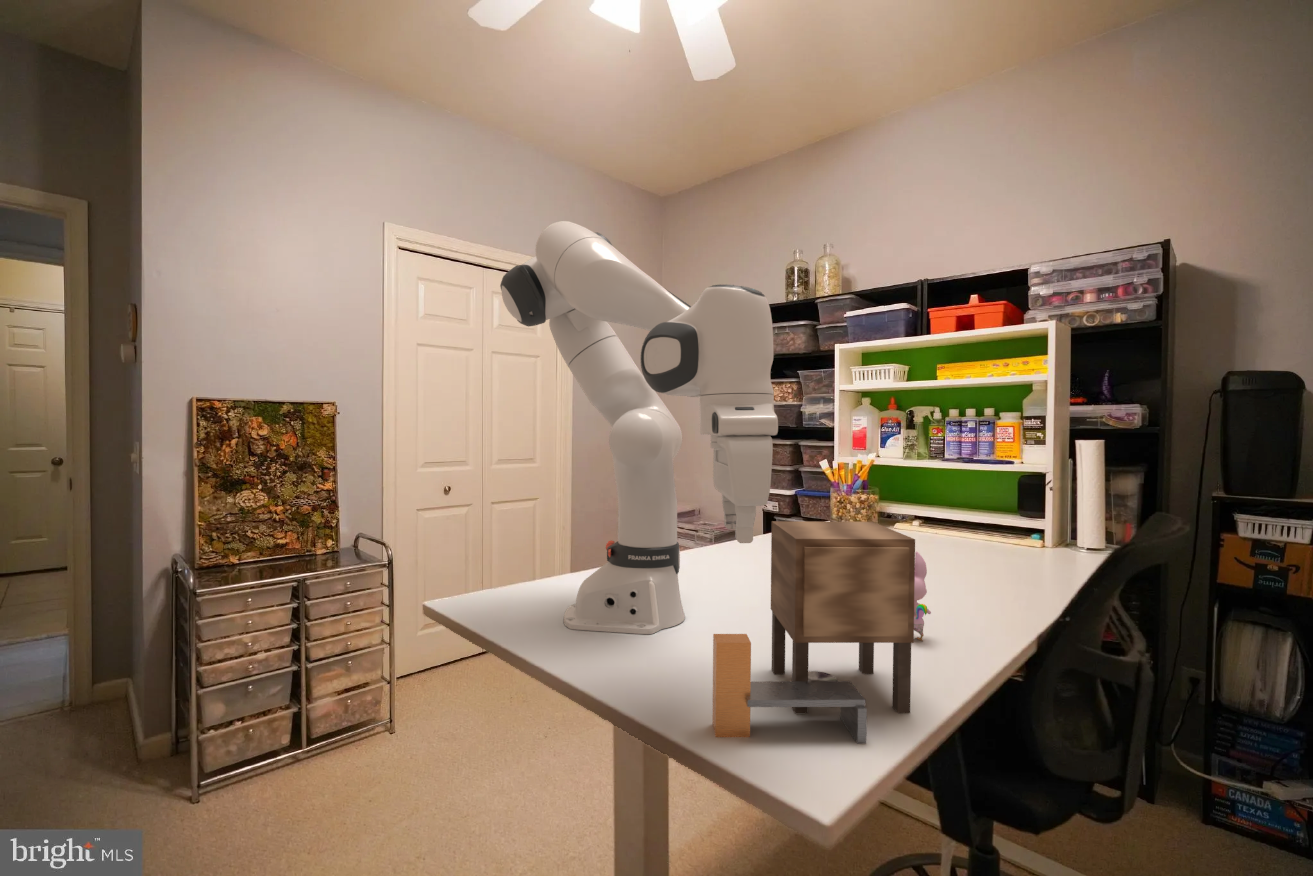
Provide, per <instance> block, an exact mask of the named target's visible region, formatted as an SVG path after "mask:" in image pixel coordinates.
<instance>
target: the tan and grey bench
mask: <svg viewBox="0 0 1313 876" xmlns="http://www.w3.org/2000/svg"><path fill="white" fill-rule="evenodd" d="M712 635H713V637H712V638H713V639H712V641H713V642H712V643H713V644H712V653H713V654H712V724H711V725H712V729H713V733H714V736H715V738H751V708H792V707H808V708H813V707H814V708H815V707H816V708H817V707H818V708H820V707H821V708H823V707H824V708H827V707H828V708H830V707H832V708H836V707H837V708H838V707H839V708H840V709H839V718H840V720H841V722H842V723H843V725H844V726H845V727H846V729H847V731H848V732H849V733H850V735H851V736H852V737H853V739H854V740H855V742H856V744H864V745H865V744H867V727H868V726H867V722H868V721H867V717H868V716H867V715H868V714H867V712H868V711H867V710H868V708H867V707H866V699H865V698H864V696H863V695H862V694H861V692H860V691H859V690H858V689H857V688H856V686H854V684H853V683H852V682H851V681H850V680H848V681H846V680H845V681H841V680H838V681H792V680H791V681H788V680H786V681H780V680H779V681H772V680H771V681H763V680H762V681H752V679H751V676H752V675H751V674H752V642H751V640H750V637H748V634H747V633H713V634H712Z"/></svg>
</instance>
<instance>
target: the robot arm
mask: <svg viewBox="0 0 1313 876" xmlns="http://www.w3.org/2000/svg"><path fill="white" fill-rule="evenodd" d="M499 287H500V291H501V297H502V301H503V304H504V306H505V308H506V309H507V311H508V312H509V314H510V315H511V316H512V317H513V318H515V320H517V322H518V323H519V324H521V325H524V326H526V327H528V328H529V327H534V326H539V325H542V324H545V323H546V321H548V320H549V322H548V323H549V324H548V325H549V331H550V333H551V335H552V338H553V340H554V342H555V343H554V344H555V345H556V347H557V348H558V351H559V354H560V355H561V357H562V359H563V361H564V362H565V364H566V366H567V367H568V369H569V371H570V372H571V374H572V375H573V377H574V379H575V380H576V382H577V384H579V386H580V389H582V391H583V393H584V394H585V396H586V398H587V399H588V401H589V403H591V405H592V406H594V407H595V409H597V411H598V412H599V413H600V414H601V416H602V417H603V418H604V419H605V420H606V421H607V423H608V424H609V425H610V427H611V428H610V432H609V436H608V437H609V438H608V443H609V450H610V451H611V454H612V456H611V457H612V463H613V474H614V480H615V481H614V482H615V485H616V494H617V507H618V508H617V509H618V510H617V524H618V525H617V527H618V528H617V541H615V540H613V539H612V540H611V539H610V540H608V541H607V543H606V544H605V549H606V561H607V562H606V563H604V564H603V565H602V566H600V568H598V569H597V570H595V571H594V572H593V573H591V574H590V575H589V576H588V577H587V578H585V579H584V580H583V581H582V583H581V584H580V587H579V589H578V590H577V596H576V599H575V603H574V604H571V605H570V606H569V607H568V608H567V609H566V610H565V612H564V614H563V615H564V616H563V624H564V626H565V627H566V628H568V629H569V630H575V631H576V630H578V631H591V632H607V633H618V634H619V633H622V634H635V635H636V634H639V635H652V634H653V635H654V634H655V633H657V632H659V631H661V630H664V629H668V628H672V627H675V626H678V625H680V624H682V623H683V622H684V621H685V620H686V615H685V611H684V608H683V607H684V606H683V603H682V598H681V593H680V591H681V590H680V584H679V573H680V572H679V571H680V567H681V565H680V564H681V549H680V544H679V542H678V497H677V493H676V491H677V490H676V483H675V482H676V481H675V472H674V467H675V466H674V459H675V458H676V456H678V454H679V452H680V450H681V449H682V445H683V433H682V428H681V427H680V424H679V423H678V421H677V420H676V419H675V417H674V415H673V414H672V413H671V411H670V410H669V409H668V407H667V406H666V404H665V403H664V401H663V400H662V398H661V397H660V396H659V394H660V393H661V394H663V395H667V396H672V397H674V396H676V397H690V398H699V434H700V435H710V448H711V449H713V461H712V462H713V463H712V464H713V467H712V468H713V470H712V472H713V473H712V475H713V477H712V480H713V486H714V489H715V490H717V491H718V492H719V493H720V494H721V502H722V503H721V504H722V509H723V525H724V527H725V528H726V529H727V530H734V532H735V536H734V537H735V539H736V541H737V542H738V543H739V544H751V543H752V542H753V541H754V526H755V520H756V516H757V507H761V506H766V505H767V503H768V500H769V498H770V497H769V496H770V492H771V483H772V467H773V450H774V449H773V447H774V446H773V438H772V437H771V436H777V435H778V432H779V420H778V419H779V418H778V415H777V414H776V412H775V402H774V401H775V398H774V397H775V396H774V395H775V391H774V388H773V384H772V381H771V369H772V365H773V361H774V329H773V319H772V312H771V307H770V304H769V300H768V299H767V296H766V295H765V294H763V292H761V291H760V290H758V289H756V288H752V287H748V286H744V285H735V284H727V283H726V284H723V283H721V284H720V283H719V284H713V285H711V286H708V287H706V288H705V289H704V290H703V291H702V292H701V294H700V296H699V298H698V299H697V301H696V302H694V304H693V305H690V304H689V303H687V302H686V301H684V300H683V299H681V298H680V297H678V296H677V295H675V294H674V293H673V292H671V291H669V290H668V289H666V288H665V287H664V286H662V285H661V284H660V283H658V282H657V281H656V280H655V279H654V278H652V277H651V276H650V275H649V274H647V273H645V271H643V270H642V269H640V267H638V266H637V265H636V264H635V263H633V262H632V261H631V260H630V259H628V258H627V257H626V256H625V255H624V254H622V252H620V251H619V250H618V249H616V248H615V247H614V245H613V244H612V243H611V241H610V240H609V239H608V238H607V237H606V236H605V235H604V234H602V233H600V232H595V231H592V230H590V229H589V228H587V227H585V226H583V225H580V224H578V223H575V222H572V221H568V220H562V221H555V222H553V223H551V224H549V225H548V226H547V227H545V228H544V230H542V231H541V233H540V234H539V235H538V238H537V241H536V244H535V256H532V257H531V258H530V259H528V260H527V261H524V262H523V263H521V264H520V265H519V264H518V265H515V266H513V267H511V269H510V270H508V271H507V272H506V273H505V274H504V275H503V277H502V279H501V282H500V286H499ZM609 323H614V324H620V325H623V326H624V325H625V326H630V327H632V328H633V327H634V328H639V329H641V330H642V329H643V330H645V331H648V333H647V334H646V336H645V339H644V340H643V343H642V347H641V350H640V368H639V367H638V366H637V365H636V363H635V362H634V359H633V358H632V356H631V355H630V353H629V352H628V350H627V348H626V347H625V346H624V344H623V343H622V341H621V339H620V338H619V335H617V333H616V332H615V331H614V329H613V327H612V326H611V325H610V324H609ZM640 369H641V370H640ZM658 393H659V394H658Z"/></svg>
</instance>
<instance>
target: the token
mask: <svg viewBox="0 0 1313 876" xmlns="http://www.w3.org/2000/svg"><path fill="white" fill-rule="evenodd" d="M808 681H839V679H837V677H836V676H834V675H832V674H830V673H827V672H823V671H818V670H817V671H816V670H815V671H814V670H813V671H812V670H811V671H810V670H808Z"/></svg>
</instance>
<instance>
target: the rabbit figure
mask: <svg viewBox="0 0 1313 876" xmlns="http://www.w3.org/2000/svg"><path fill="white" fill-rule="evenodd" d="M927 572H928V569H927V564H926V561H925V559H924V557H923V556H922V555H921V553H920V552H918V551H915V586H914V632H916V633H918V634H919V635H920V637H919V636H917V637H916V638H914V639H915V640H916V639H917V640H918V641H921V642H923V637H924V636H925V635H924V626H925V621H924V617H925V616H926V615H931V614H932V612H931V610H929V608H928V607H927V605H926V604H924V603H919V602H918V601H920V600H923V598H924V597H926V595H927V593H928V590H927V585H926V582H925V579H926V576H927Z"/></svg>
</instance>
